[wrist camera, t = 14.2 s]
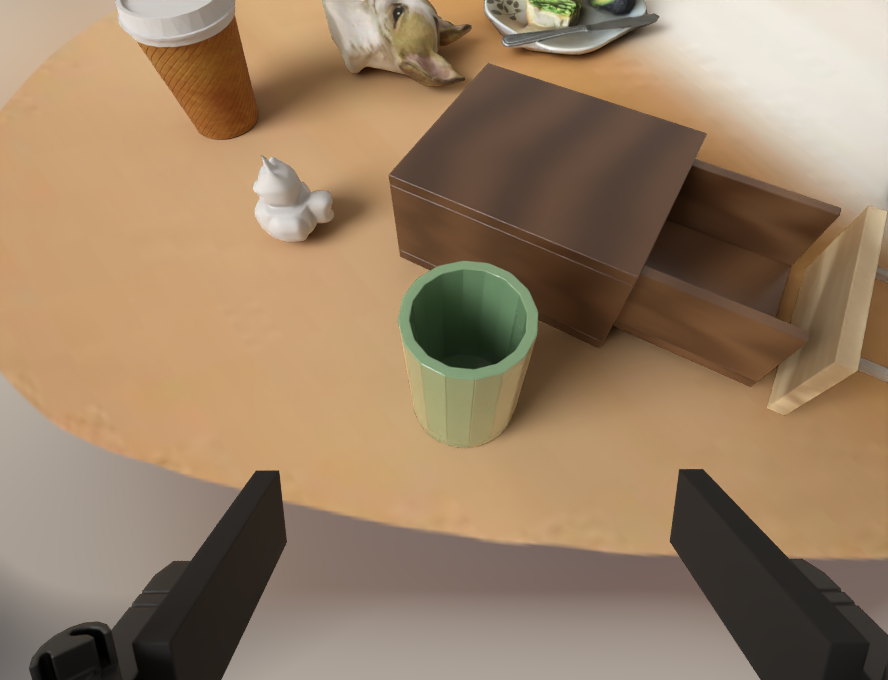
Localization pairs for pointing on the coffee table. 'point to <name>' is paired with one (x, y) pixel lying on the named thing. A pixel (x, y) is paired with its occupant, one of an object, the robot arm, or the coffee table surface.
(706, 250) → the drawer
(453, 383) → the pot
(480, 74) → the cabinet
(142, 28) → the disposable coffee cup
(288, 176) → the white animal figurine
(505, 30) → the avocado toast plate
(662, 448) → the coffee table surface
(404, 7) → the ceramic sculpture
